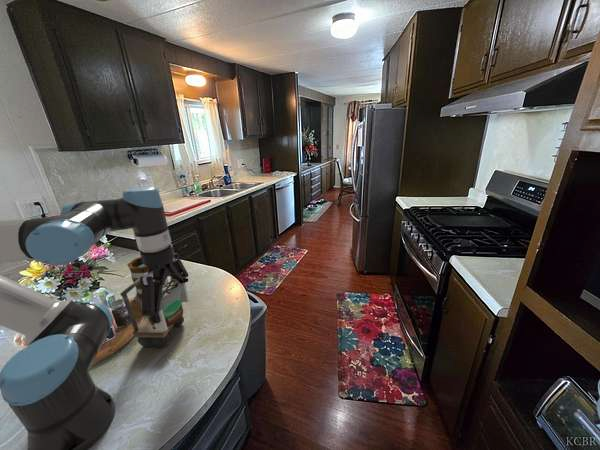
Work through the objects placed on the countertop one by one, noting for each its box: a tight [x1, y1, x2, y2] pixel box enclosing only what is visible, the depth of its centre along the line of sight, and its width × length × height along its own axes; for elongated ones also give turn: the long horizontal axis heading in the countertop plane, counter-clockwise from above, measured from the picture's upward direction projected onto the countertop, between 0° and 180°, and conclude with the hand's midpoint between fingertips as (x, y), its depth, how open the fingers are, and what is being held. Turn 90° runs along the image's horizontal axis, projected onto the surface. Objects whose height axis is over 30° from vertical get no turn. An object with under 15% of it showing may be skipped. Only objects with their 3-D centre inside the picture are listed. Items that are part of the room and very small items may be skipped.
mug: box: [127, 256, 170, 300], centre depth 110 cm, size 20×14×15 cm
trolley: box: [119, 273, 185, 349], centre depth 81 cm, size 12×10×22 cm
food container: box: [140, 277, 184, 329], centre depth 69 cm, size 12×6×10 cm, turn 169°
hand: (174, 314), depth 71 cm, fingers closed on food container, 11 cm apart
